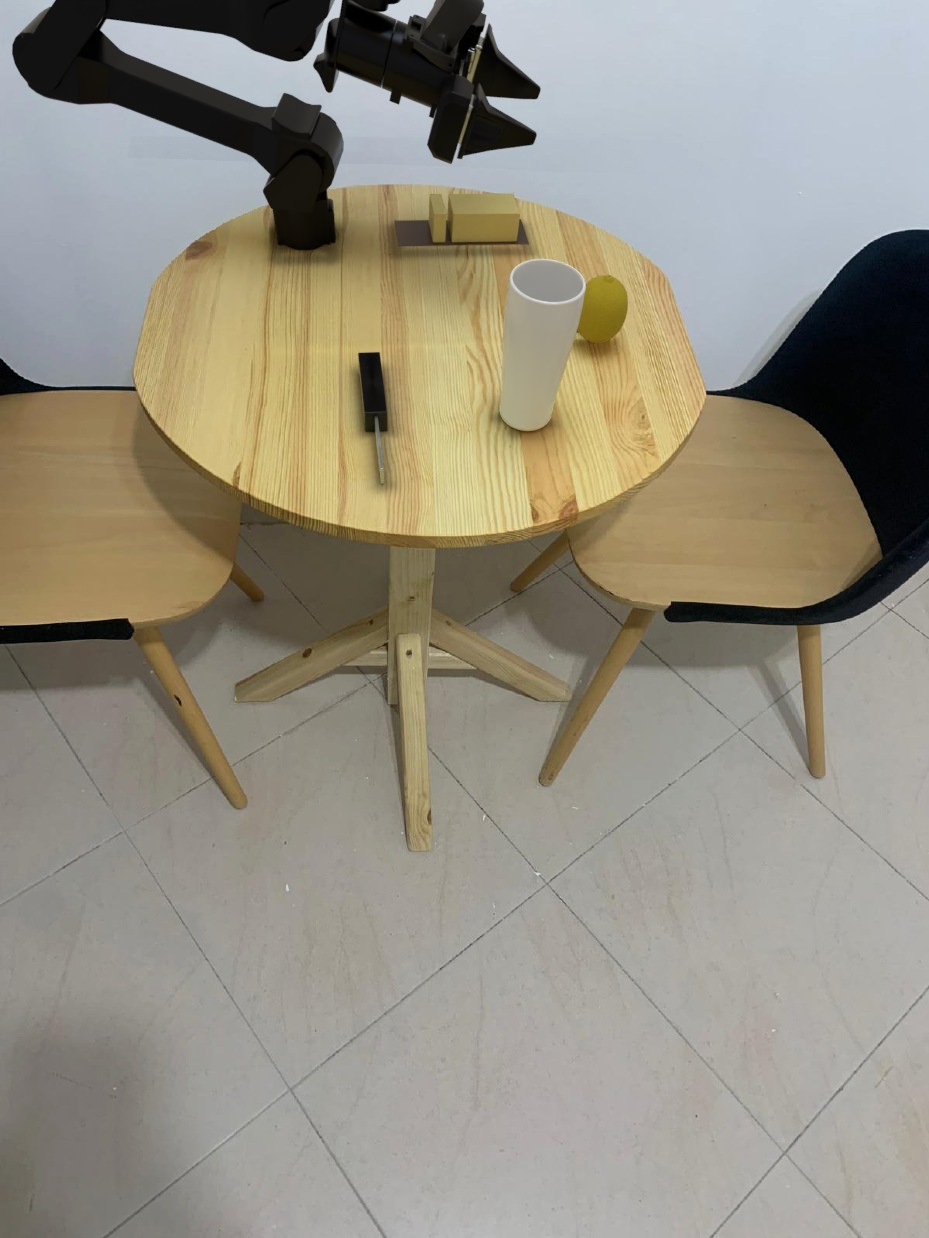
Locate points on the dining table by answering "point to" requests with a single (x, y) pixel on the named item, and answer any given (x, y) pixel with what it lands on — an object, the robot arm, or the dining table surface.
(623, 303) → the lemon
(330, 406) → the dining table surface
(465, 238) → the butter stick
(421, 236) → the board
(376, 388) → the knife
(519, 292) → the drinking glass
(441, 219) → the butter slice
